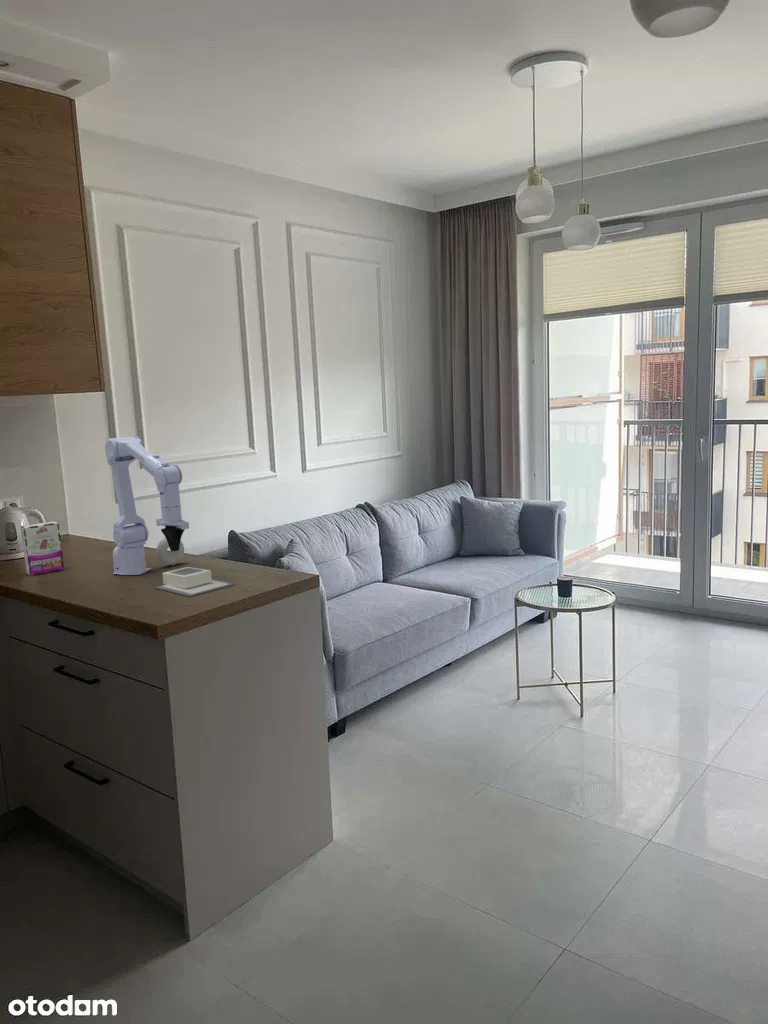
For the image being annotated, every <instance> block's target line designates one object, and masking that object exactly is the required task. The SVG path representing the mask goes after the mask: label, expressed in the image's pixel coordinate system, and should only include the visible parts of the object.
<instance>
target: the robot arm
mask: <svg viewBox="0 0 768 1024" xmlns="http://www.w3.org/2000/svg"><path fill="white" fill-rule="evenodd" d="M143 445H144V444H143V441H142V439H141V438H139V437H138V436H137V435H134V436H129V437H128V436H127V437H126V436H125V437H117V438H116V437H115V438H113V437H110V438H108V439H107V440H106V443H105V445H104V449H105V457H106V461H107V464H108V465H109V466H110V467H111V473H112V478H113V485H114V489H115V496H116V501H117V507H118V511H119V512H118V513H119V517H118V519H116V521H115V522H114V523H113V525H112V526H113V527H112V529H113V534H112V537H113V541H114V544H115V545H116V546H115V547H114V548H113V551H112V560H113V561H112V564H113V571H114V572H113V574H112V575H114V574H117V576H120V575H121V576H139V575H142V574H145V573H146V572H148V571H151V570H152V567H147V566H146V557H145V556H146V555H145V547H144V546H145V545H146V544H147V543H146V542H147V541H148V539H149V536H150V535H149V529H148V526H147V525H146V521H145V519H144V518H142V516H139V515H138V514H137V509H136V503H135V497H134V493H133V492H134V491H133V487H132V482H131V475H130V470H129V467H130V465H131V464H132V463H134V462H135V461H136V460H138V461H139V462H140V463H142V467H143V469H144V471H146V472H147V473H149V474H150V475H151V476H152V477H153V479H154V483H155V485H156V489H157V492H158V493H159V498H160V499H159V500H160V501H159V502H160V511H161V518H159V519H158V518H157V519H155V520H156V521H155V523H156V526H158V527H159V526H162V527H164V528H161V529H160V530H161V533H162V534H163V535H164V538H166V539H167V542H168V545H169V547H168V548H169V550H170V552H174V551H178V550H179V546H180V540H181V539H182V536H183V534H184V532H185V531H186V530H189V529H190V522H189V521H185V520H183V518H182V508H181V495H180V484H181V483H182V480H183V473H182V470H181V468H180V467H179V466H178V465H177V464H173V465H172V464H171V465H170V464H169V463H168V462H167V461H165V460H164V459H163V458H161V457H160V454H158V453H157V454H155V453H153V454H151V453H150V452H149V451H148V450H147V449H146V448H145V446H143ZM181 541H182V540H181ZM118 574H119V575H118ZM114 576H115V575H114Z"/></svg>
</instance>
